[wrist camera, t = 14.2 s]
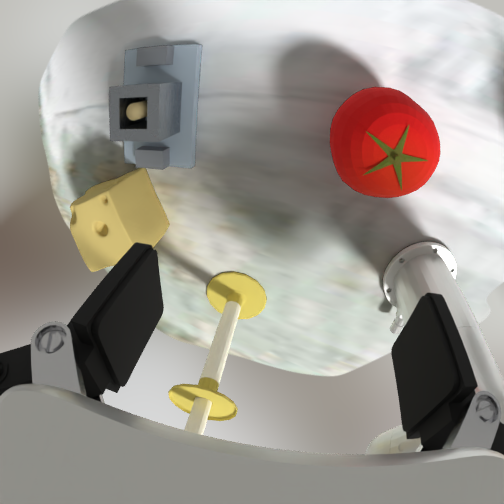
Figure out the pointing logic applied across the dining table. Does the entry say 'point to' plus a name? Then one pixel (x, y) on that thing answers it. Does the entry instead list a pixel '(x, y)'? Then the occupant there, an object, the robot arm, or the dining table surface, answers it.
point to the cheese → (117, 219)
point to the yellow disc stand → (219, 350)
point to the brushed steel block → (158, 111)
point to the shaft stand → (188, 72)
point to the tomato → (383, 143)
